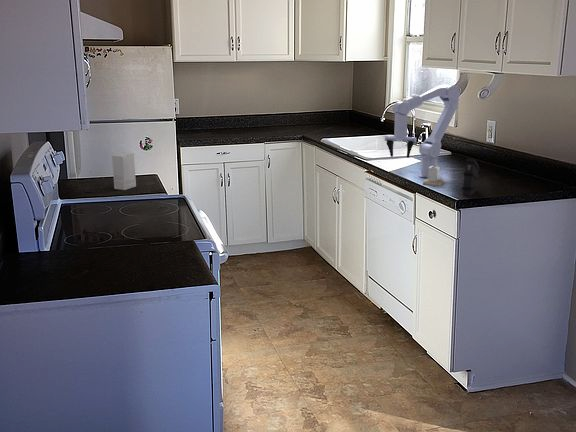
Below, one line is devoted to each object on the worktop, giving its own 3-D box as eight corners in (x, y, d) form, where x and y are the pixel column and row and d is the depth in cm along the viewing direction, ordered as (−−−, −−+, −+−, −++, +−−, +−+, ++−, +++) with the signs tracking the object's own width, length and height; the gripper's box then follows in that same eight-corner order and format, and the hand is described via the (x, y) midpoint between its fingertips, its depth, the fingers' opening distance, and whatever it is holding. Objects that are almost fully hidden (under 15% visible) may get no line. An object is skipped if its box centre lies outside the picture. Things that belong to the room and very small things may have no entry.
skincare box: (126, 185, 304) (123, 152, 300) (137, 186, 301) (134, 153, 298) (113, 189, 297) (110, 154, 293) (124, 190, 294) (122, 155, 290)
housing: (430, 178, 303) (430, 164, 301) (439, 179, 301) (439, 164, 300) (427, 181, 297) (428, 166, 296) (436, 181, 296) (437, 167, 294)
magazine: (460, 193, 272) (465, 158, 274) (466, 200, 283) (472, 167, 286) (469, 193, 270) (474, 158, 272) (475, 201, 282) (481, 167, 284)
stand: (426, 181, 305) (426, 177, 304) (443, 182, 302) (443, 179, 301) (423, 184, 297) (423, 181, 297) (440, 185, 295) (441, 182, 294)
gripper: (383, 128, 304) (382, 157, 307) (414, 129, 299) (413, 158, 302) (386, 126, 310) (386, 155, 314) (417, 127, 305) (416, 156, 309)
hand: (399, 156), depth 308 cm, fingers open, 7 cm apart
